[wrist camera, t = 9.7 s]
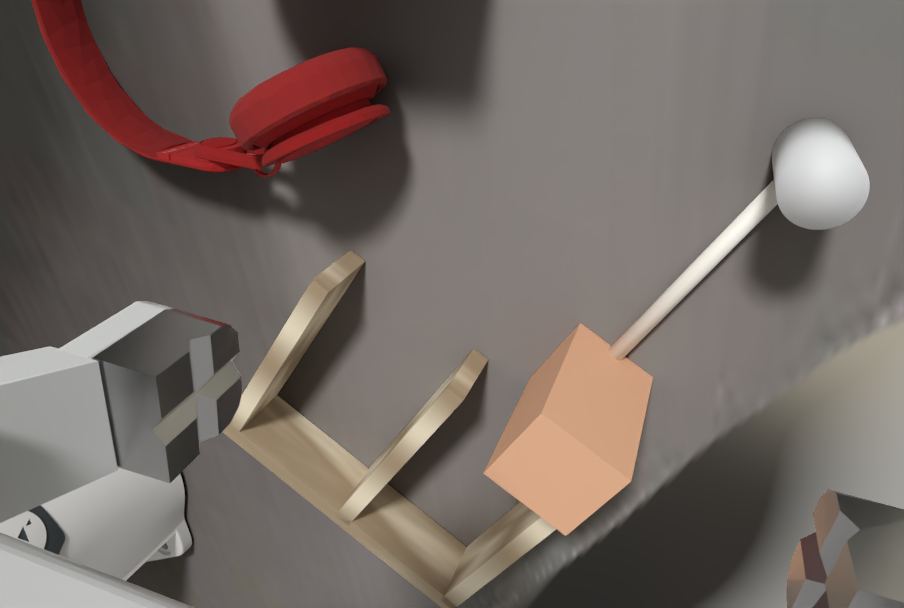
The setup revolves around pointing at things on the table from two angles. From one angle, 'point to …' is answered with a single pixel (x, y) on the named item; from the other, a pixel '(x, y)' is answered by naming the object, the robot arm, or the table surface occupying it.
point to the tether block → (608, 370)
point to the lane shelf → (365, 489)
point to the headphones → (253, 117)
